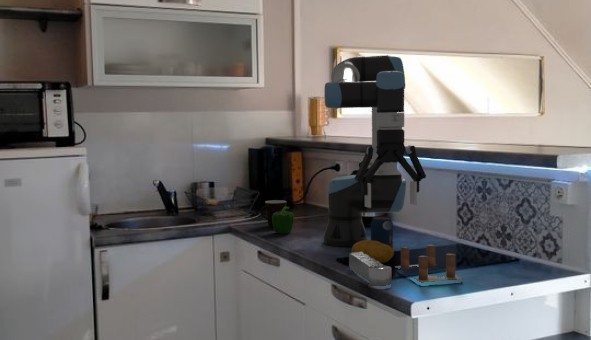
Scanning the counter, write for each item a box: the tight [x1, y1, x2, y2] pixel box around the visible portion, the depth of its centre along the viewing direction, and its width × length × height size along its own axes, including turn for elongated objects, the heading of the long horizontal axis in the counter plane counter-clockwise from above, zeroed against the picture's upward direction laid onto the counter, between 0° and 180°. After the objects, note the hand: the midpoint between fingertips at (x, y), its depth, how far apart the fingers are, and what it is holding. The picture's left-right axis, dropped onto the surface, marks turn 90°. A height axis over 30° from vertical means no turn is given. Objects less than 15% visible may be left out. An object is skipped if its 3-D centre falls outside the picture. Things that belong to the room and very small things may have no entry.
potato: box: [351, 239, 395, 264], centre depth 194 cm, size 8×14×7 cm, turn 43°
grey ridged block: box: [348, 252, 393, 286], centre depth 176 cm, size 22×6×5 cm, turn 14°
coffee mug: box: [260, 199, 287, 229], centre depth 259 cm, size 12×9×10 cm
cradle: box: [394, 244, 463, 283], centre depth 177 cm, size 18×12×7 cm, turn 14°
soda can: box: [370, 215, 394, 250], centre depth 205 cm, size 7×7×12 cm
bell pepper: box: [272, 206, 295, 235], centre depth 244 cm, size 8×8×10 cm
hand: (390, 205), depth 178 cm, fingers open, 13 cm apart
